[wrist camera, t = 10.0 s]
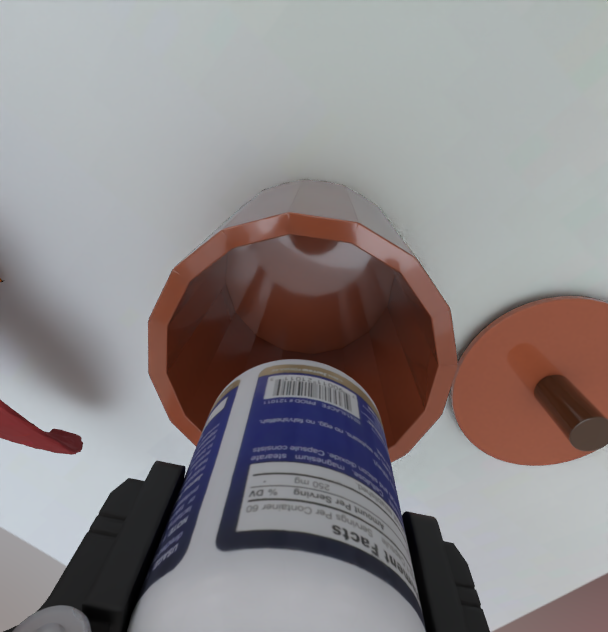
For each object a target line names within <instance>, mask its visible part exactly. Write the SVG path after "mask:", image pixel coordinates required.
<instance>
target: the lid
mask: <svg viewBox="0 0 608 632" xmlns="http://www.w3.org/2000/svg"><path fill="white" fill-rule="evenodd" d="M457 365H458V367H457V370H456V373H455V376H454V379H453V382H452V385H451V404H452V409H453V413H454V415H455V418H456V420H457V423H458V425H459V427H460V428H461V430H462V432H463V433H464V435H465V436H466V437H467V438H468V439H469V440H470V442H471V443H473V444H474V445H475V446H476V447H477V448H478V449H480V450H482V451H483V452H485V453H486V454H488V455H490V456H492V457H494V458H497V459H499V460H502V461H506V462H509V463H514V464H519V465H530V466H534V465H551V464H558V463H563V462H567V461H571V460H574V459H577V458H580V457H583V456H585V455H588V454H590V453H592V452H594V451H596V450H598V449H601V448H602V447H604V446H606V445H607V444H608V302H605V301H602V300H599V299H594V298H590V297H582V296H557V297H551V298H544V299H541V300H537V301H533V302H530V303H527V304H525V305H522V306H519V307H517V308H515V309H513V310H511V311H509V312H507V313H505V314H503V315H502V316H500V317H499V318H497V319H496V320H494V321H493V322H491V323H490V324H489V325H488V326H487V327H485V328H484V329H483V330H482V331H481V332H480V333H479V334H478V335H477V336H476V337H475V338H474V339H473V340H472V341H471V343H470V344H469V345H468V347H467V348H466V349H465V351H464V353H463V354H462V356H461V358H460V360H459V361H458V364H457Z"/></svg>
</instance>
